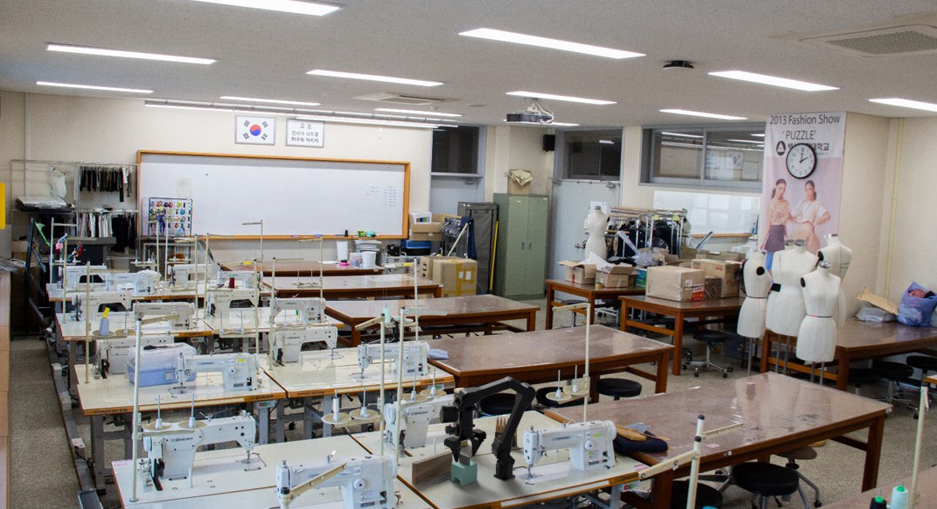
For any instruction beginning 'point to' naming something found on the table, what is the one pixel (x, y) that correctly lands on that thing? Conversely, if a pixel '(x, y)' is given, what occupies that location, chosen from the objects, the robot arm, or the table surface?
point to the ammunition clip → (500, 430)
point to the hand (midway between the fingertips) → (464, 459)
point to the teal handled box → (464, 470)
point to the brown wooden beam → (432, 468)
